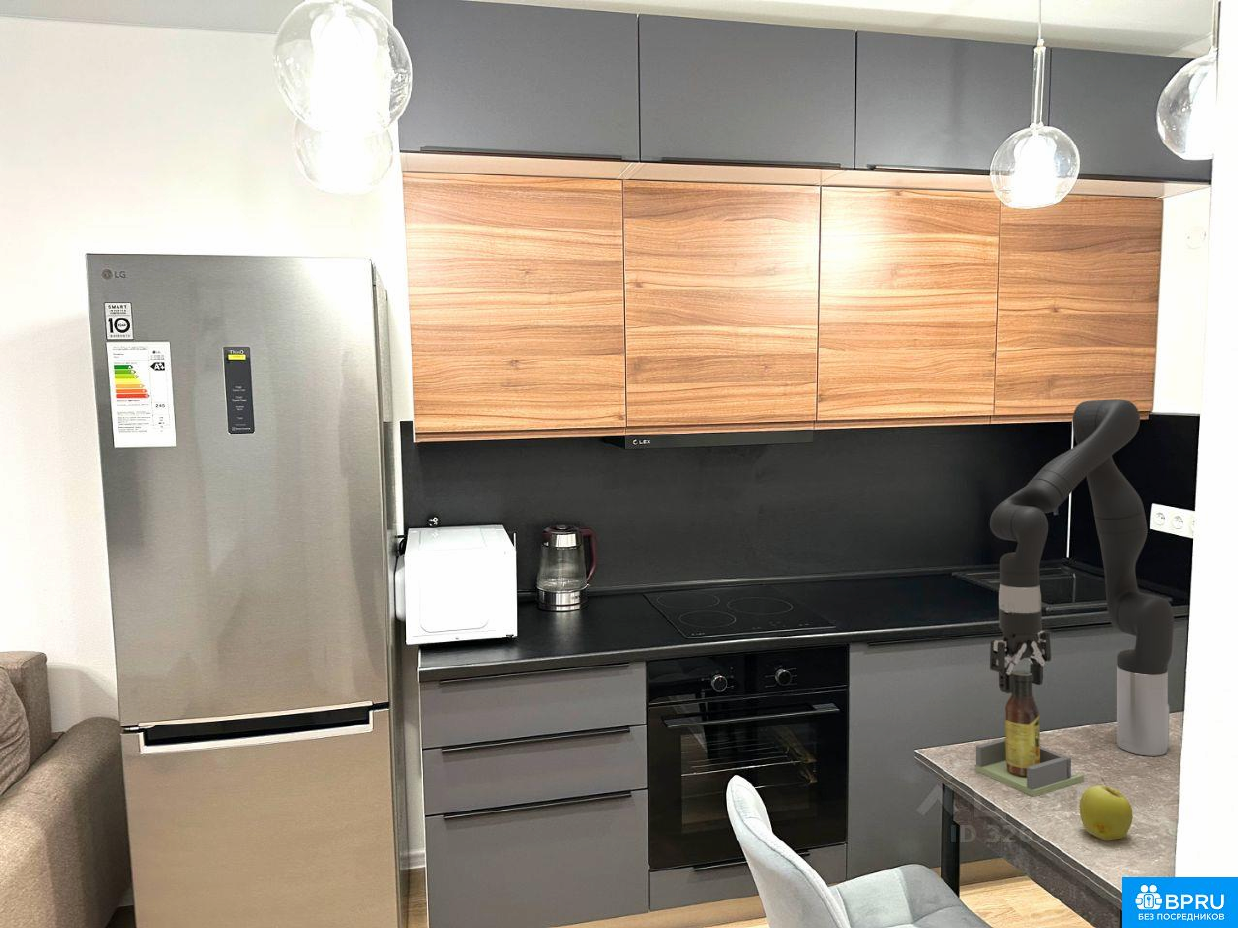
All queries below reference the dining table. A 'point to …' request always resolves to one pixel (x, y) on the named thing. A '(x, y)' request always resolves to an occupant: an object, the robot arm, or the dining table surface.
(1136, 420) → the robot arm
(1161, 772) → the dining table surface
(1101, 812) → the apple
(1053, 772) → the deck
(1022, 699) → the sauce bottle
